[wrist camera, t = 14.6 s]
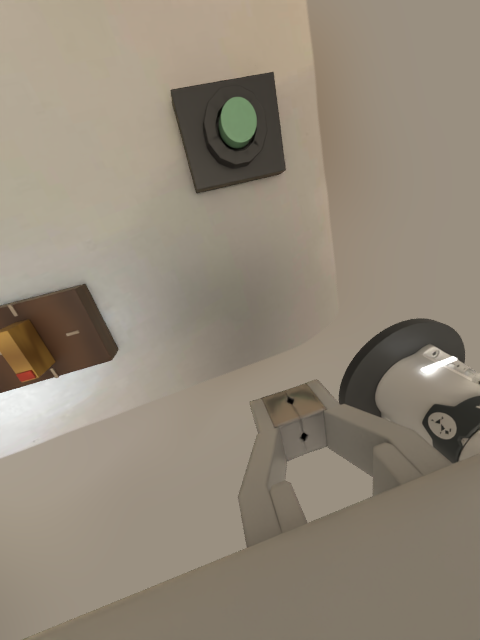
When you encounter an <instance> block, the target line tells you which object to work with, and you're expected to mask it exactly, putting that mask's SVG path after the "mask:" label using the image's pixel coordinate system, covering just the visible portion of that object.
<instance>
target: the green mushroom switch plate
mask: <svg viewBox="0 0 480 640" xmlns="http://www.w3.org/2000/svg"><path fill="white" fill-rule="evenodd" d="M171 97H172V103H173V107H174V111H175V115H176V118H177V122H178V126H179V130H180V134H181V137H182V141H183V145H184V149H185V152H186V156H187V160H188V164H189V168H190V171H191V175H192V179H193V183H194V186H195V190H196V193H200V192H204V191H208V190H213V189H217V188H222V187H226V186H231V185H235V184H239V183H244V182H248V181H253V180H257V179H262V178H266V177H270V176H275V175H279V174H281V173H282V172H283V171H285V170H286V169H285V161H284V153H283V145H282V137H281V129H280V121H279V112H278V104H277V96H276V88H275V80H274V72H270V73H265V74H259V75H253V76H247V77H242V78H236V79H230V80H224V81H219V82H213V83H207V84H201V85H196V86H190V87H184V88H178V89H173V90H171ZM233 97H242V98H244V99H246V100H247V101H249V102H250V103H251V105H252V106H253V108H254V110H255V113H256V117H257V126H256V130H255V133H254V135H253V136H252V138H251V139H250V141H249V142H248V144H247V145H246V146H244V147H242V148H232V147H230V146H228V145H227V144H226V143H225V142H224V141H223V139H222V137H221V135H220V132H219V119H220V115H221V111H222V108H223V106H224V104H225V103H226V102H227V101H228V100H229V99H231V98H233Z"/></svg>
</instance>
